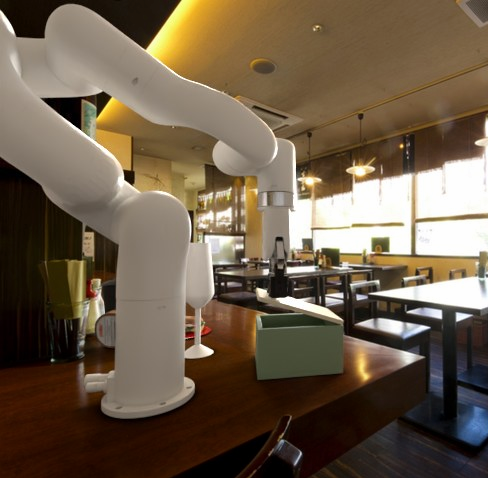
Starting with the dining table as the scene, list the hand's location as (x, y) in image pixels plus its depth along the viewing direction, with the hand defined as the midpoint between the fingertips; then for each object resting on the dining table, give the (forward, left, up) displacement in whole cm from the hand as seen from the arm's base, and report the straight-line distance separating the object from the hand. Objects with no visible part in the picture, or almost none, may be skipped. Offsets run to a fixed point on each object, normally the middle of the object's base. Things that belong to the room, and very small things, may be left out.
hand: (277, 294), depth 65 cm
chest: (+4, 0, -14) cm, 15 cm away
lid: (+4, 0, -3) cm, 5 cm away
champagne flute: (-16, +11, -14) cm, 24 cm away
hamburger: (-22, +29, -14) cm, 39 cm away
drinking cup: (-38, +30, -14) cm, 51 cm away
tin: (-32, +18, -14) cm, 39 cm away
